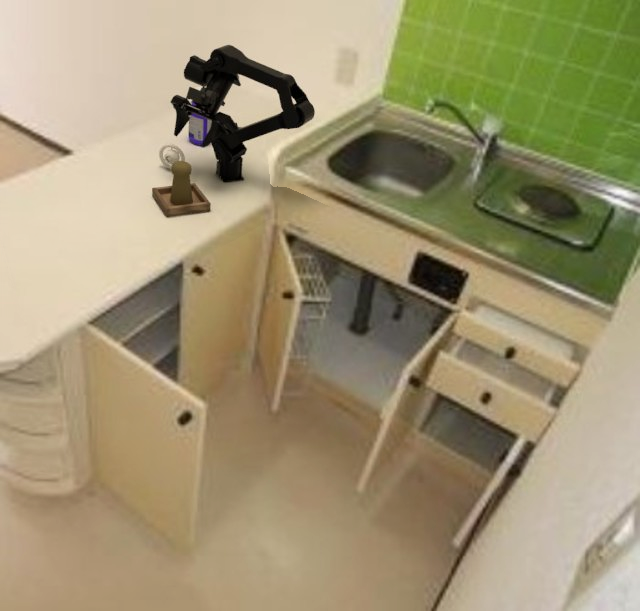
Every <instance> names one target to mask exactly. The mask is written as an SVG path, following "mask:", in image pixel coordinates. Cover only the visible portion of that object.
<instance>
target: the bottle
mask: <svg viewBox="0 0 640 611" xmlns="http://www.w3.org/2000/svg"><path fill="white" fill-rule="evenodd" d="M202 87H203V86H196V87H194V88H195V89H197V90H201V88H202ZM192 101H193V100H191V101H190V103H191V104H192V105H193V106H196V105H195V104H194V103H193V102H192ZM200 113H202V112H200ZM189 117H190V120H189V121H188V141H189V142H191V144H194V145H197V146H200V147H202V146H201V145H202V143H203V140H204V139H205V137H206V135H207V133H208V132H209V130H210V128H211V123H212V121H211V120H209V119H206V118H204V117H201V116H199V115H196V114H194V113H192V115H189Z"/></svg>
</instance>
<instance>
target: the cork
mask: <svg viewBox="0 0 640 611" xmlns="http://www.w3.org/2000/svg"><path fill="white" fill-rule="evenodd" d="M171 166H172V167H171V174H172V175H173V178H172V183H171V184H172V185H171V186H172V190H171V197H170V202H171V203H172V204H173V205H176V206H179V205H186V204H192V203H193V198H192V190H191V183H192V182H191V174H192V172H193V171H192V170H193V168H192V165H191V164H190V163H189V162H188V161H186V160H185V161H181V160H179V161H177V162H174V163H173V164H172V165H171Z"/></svg>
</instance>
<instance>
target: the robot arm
mask: <svg viewBox="0 0 640 611" xmlns="http://www.w3.org/2000/svg"><path fill="white" fill-rule="evenodd" d="M239 75H240V76H242V77H244V78H248V79H250V80H253V81H254V82H257V83H260V84H261V85H264V86H266V87H269V88H271V89H274V90H276V92H277V94H278V98H279V99H278V100H279V104H280V108H281V110H282V111H281V112H280V113H277V114H275V115H272V116H269V117H267V118H263V119H262V120H259V121H256V122H253V123H250V124H248V125H244V126H239V125H238V123H237V122H235V121H234V119H233V118H232V117H231V115H229V114H226V113H224V112H222V111H219V110H220V108H221V107H224V106H225V105H226V102H225V101H224V100H225V99H226V97H227V95H228V94H229V91H230V90H231V88H232V87H233V85H235V86H237V87H241V85H242V83H241V80H240V76H239ZM183 77H184V79H185V80H187V81H189V82H192V83H194V84H196V85H199V87H202V88H201V90H197V89H195V87H191V86H189V87H188V90H187V93H186V96H185V97H184V96H181V95H178V94H176V95H174V96H172V98H171V100H170V103H171V105H172V107H173V109H174V110H175V113H176V114H175V117H176V118H175V125H174V132H173V135H174V136H175V137H178V136H179V134H180V133H181V132H182V131H183V129H184V127H185V126H186V125H187V124H188V123H189V120H190V117H189V115H192V113H194V114H196V115H199V116H201V117H204V118H206V119H209V120H211V121H212V123H211V128H210V130H209V132H208V133H207V135H206V137H205V139H204V140H203V143H202V145H201V146H200V147H202V148H203V149H205V148H206V147H207V146H209V145H210V144H211V147H212V149H213V152H214V155H215V159H216V170H215V175H217V176H218V178H220V180H221V181H222V182H224V183H229V182H230V183H231V182H236V181H237V182H238V181H244V180H245V177H244V176H243V157H242V156H245V155H246V152H247V150H248V148H247V147H246V145H245V144H244V143H245V142H247V141H251V140H253V139H256V138H258V137H262V136H264V135H267V134H270V133H273V132H276V131H279V130H283V129H284V130H293V129H300V128H301V127H303V126H304V125H305V124H308V123H309V122H310V121H312V120H313V119H314V118H315V113H316V112H315V111H316V110H315V107H314V105H313V104H312V102H310V99H309V98H308V95H307V94H306V92H305V91H303V89H302V88H301V87H300V86H299V84H298V83H297V82H296V79H295V77H294V76H293V75H291V74H288V73H285V72H282V71H279V70H277V69H276V68H275V69H274V68H273V67H269V66H267V65H265V64H263V63H260V62H258V61H255V60H253V59H250V58H249V57H247V56H246V55H245V54H244V53H243V51H242V50H239V48H237V47H235V46H233V45H231V44H226V45H222V46H221V47H217V48H215V49H213V50H212V51H211V52H210V56H209V58H208V59H207V60H205V59H203V58H201V57H199V56H197V55H195V54H193V55H191V56H189V61H188V62H187V64H186V65H185V67H184V69H183ZM189 100H191V101H192V100H193V101H192V102H193V103H194V104H195V105H196V106H193V105H192V103H191V101H189ZM293 100H294V102H295V103H294V102H293ZM200 112H202V113H200Z"/></svg>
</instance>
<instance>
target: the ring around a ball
mask: <svg viewBox="0 0 640 611" xmlns="http://www.w3.org/2000/svg"><path fill="white" fill-rule="evenodd" d="M168 148H171V149H168ZM165 149H168V150H166V152H165V153H164V151H165ZM158 154H159V156H158V157H159V159H160V160H159V161H160V162H161V163H162V165H163V166H164V167H165V168H167V169H168V170H171V167H172V164H173V163H174V162H177V161H185V162H186V159H185V158H186V157H185V154H184V152H183V151H182V149H181V148H180V147H179V146H178V145H176V144H174V143H165V144H164V145H162V146H161V147H160V150H159V152H158Z"/></svg>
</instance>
